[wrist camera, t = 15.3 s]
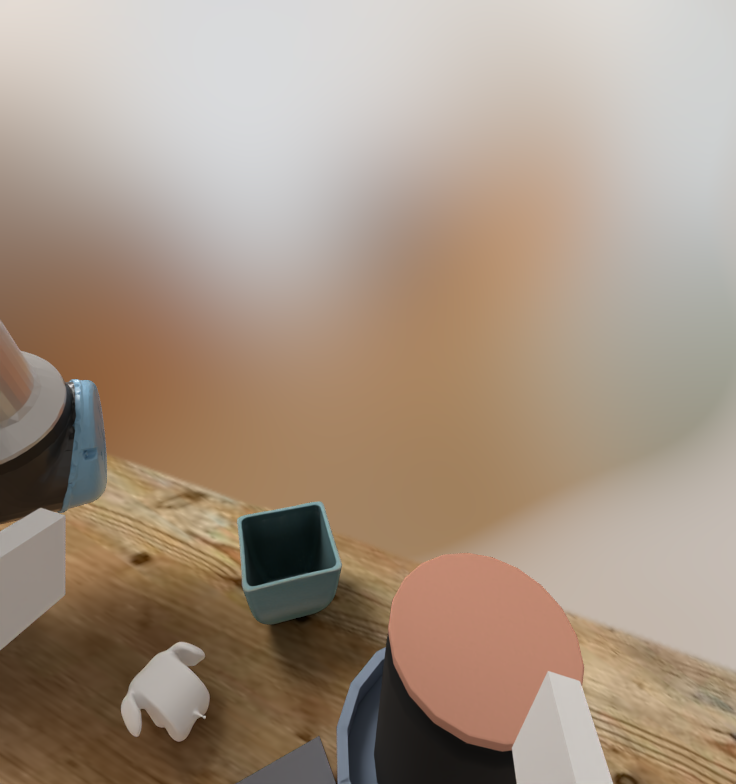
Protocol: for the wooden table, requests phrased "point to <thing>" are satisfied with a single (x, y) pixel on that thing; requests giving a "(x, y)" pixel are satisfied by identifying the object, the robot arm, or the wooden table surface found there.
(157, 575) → the wooden table surface
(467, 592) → the coffee jar
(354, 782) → the bowl
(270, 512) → the flower pot
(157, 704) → the elephant figurine
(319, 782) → the mat
